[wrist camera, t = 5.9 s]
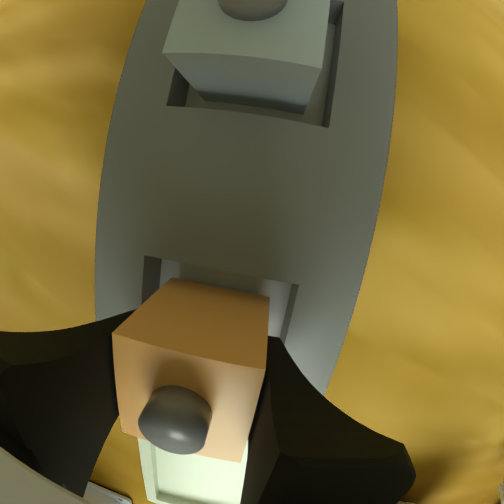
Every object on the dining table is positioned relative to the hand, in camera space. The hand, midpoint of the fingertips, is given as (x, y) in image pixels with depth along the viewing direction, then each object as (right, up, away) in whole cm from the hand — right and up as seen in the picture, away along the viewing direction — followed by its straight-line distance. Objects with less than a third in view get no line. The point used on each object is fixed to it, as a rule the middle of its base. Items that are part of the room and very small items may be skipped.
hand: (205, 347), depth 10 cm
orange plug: (0, 0, +2) cm, 2 cm away
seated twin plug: (+2, +11, 0) cm, 11 cm away
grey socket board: (+1, +6, +2) cm, 6 cm away
